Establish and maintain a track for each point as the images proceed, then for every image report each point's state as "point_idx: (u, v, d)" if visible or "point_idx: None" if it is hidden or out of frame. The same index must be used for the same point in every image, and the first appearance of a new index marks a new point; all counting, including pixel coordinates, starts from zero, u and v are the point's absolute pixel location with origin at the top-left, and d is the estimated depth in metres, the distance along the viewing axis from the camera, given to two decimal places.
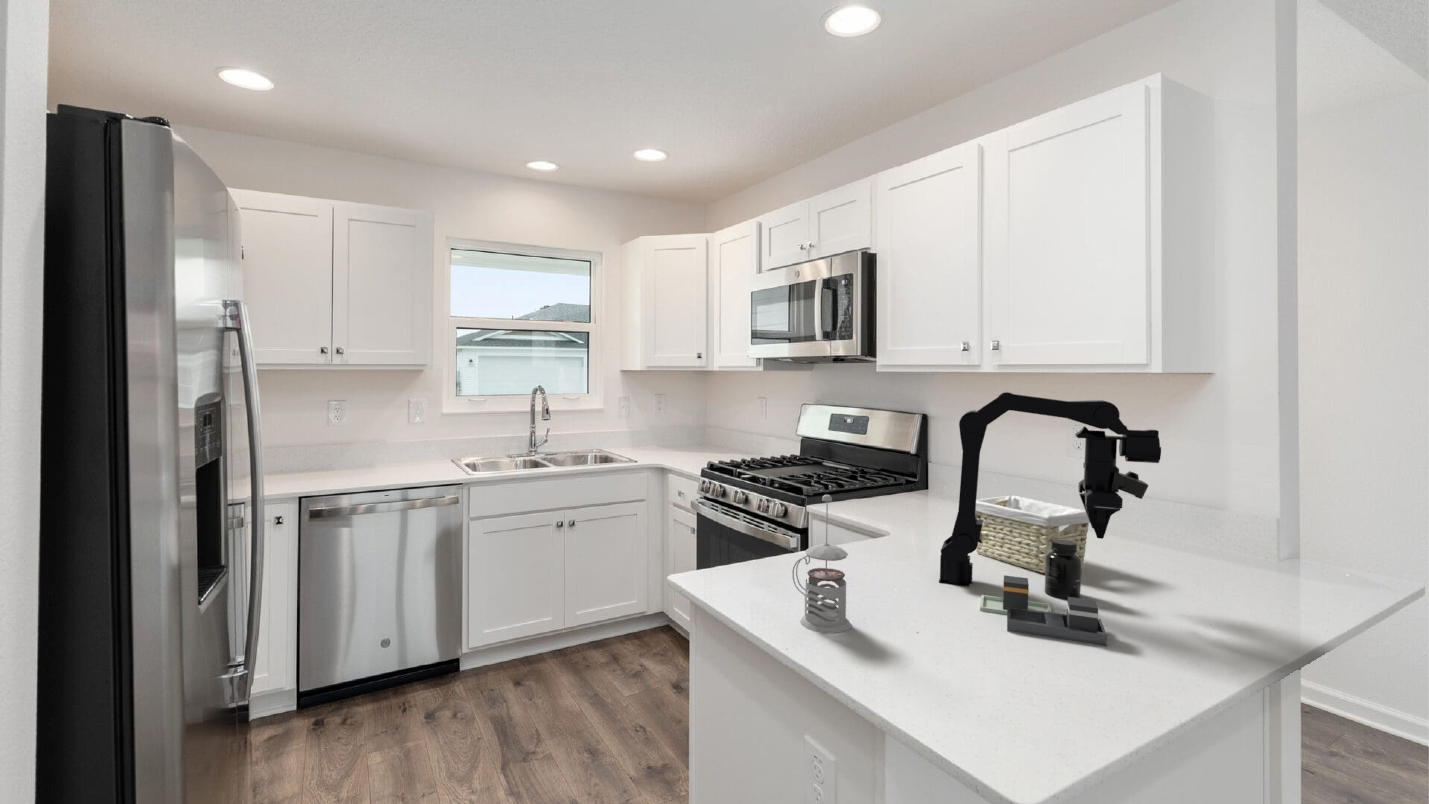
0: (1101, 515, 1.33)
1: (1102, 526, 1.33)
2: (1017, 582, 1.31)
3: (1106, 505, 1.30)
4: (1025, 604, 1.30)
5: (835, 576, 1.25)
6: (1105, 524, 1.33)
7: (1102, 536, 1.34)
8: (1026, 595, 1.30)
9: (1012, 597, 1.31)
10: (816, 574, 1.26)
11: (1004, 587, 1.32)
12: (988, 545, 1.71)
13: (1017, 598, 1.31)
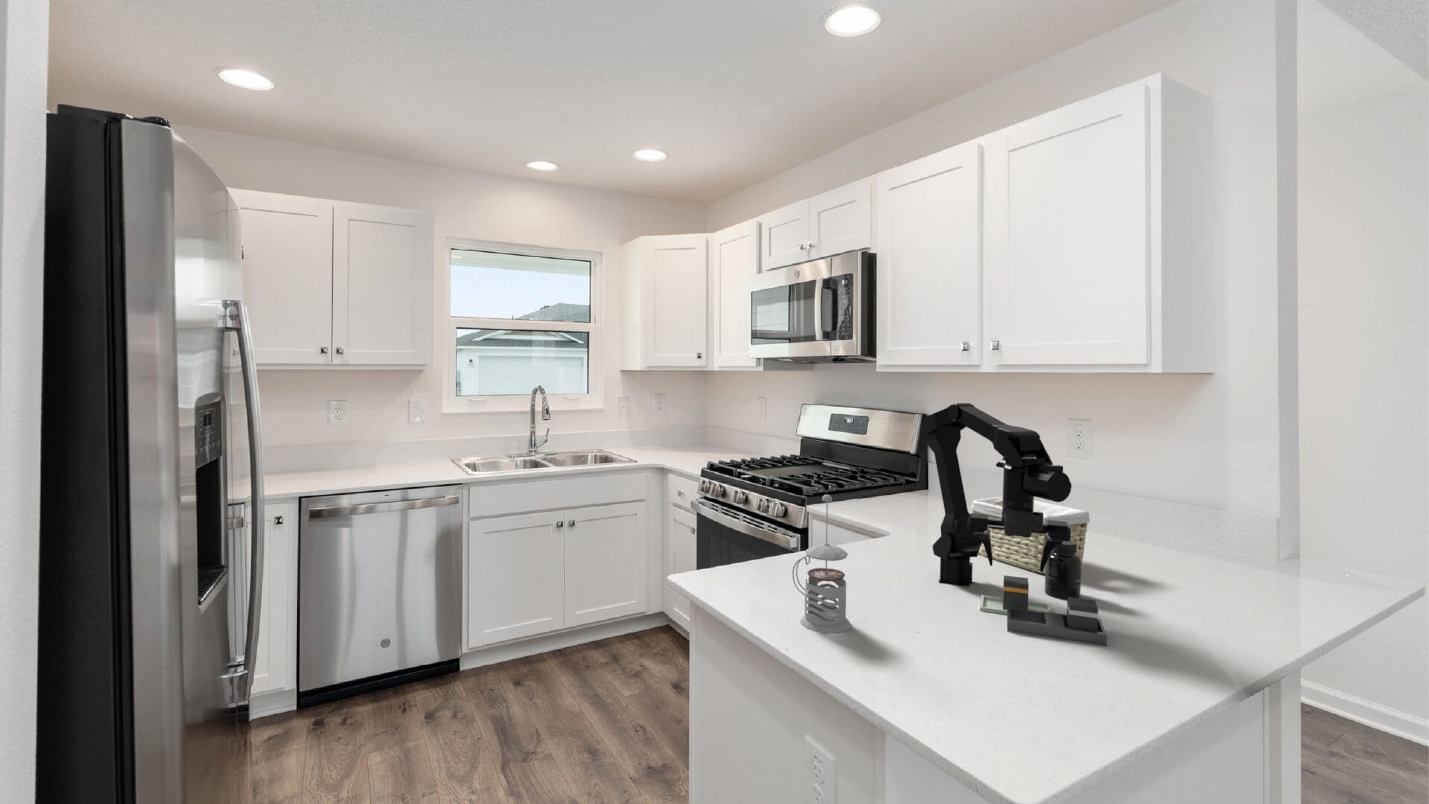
0: None
1: None
2: (1017, 582, 1.31)
3: None
4: (1025, 604, 1.30)
5: (835, 576, 1.25)
6: None
7: (989, 563, 1.34)
8: (1026, 595, 1.30)
9: (1012, 597, 1.31)
10: (816, 574, 1.26)
11: (1004, 587, 1.32)
12: None
13: (1017, 598, 1.31)
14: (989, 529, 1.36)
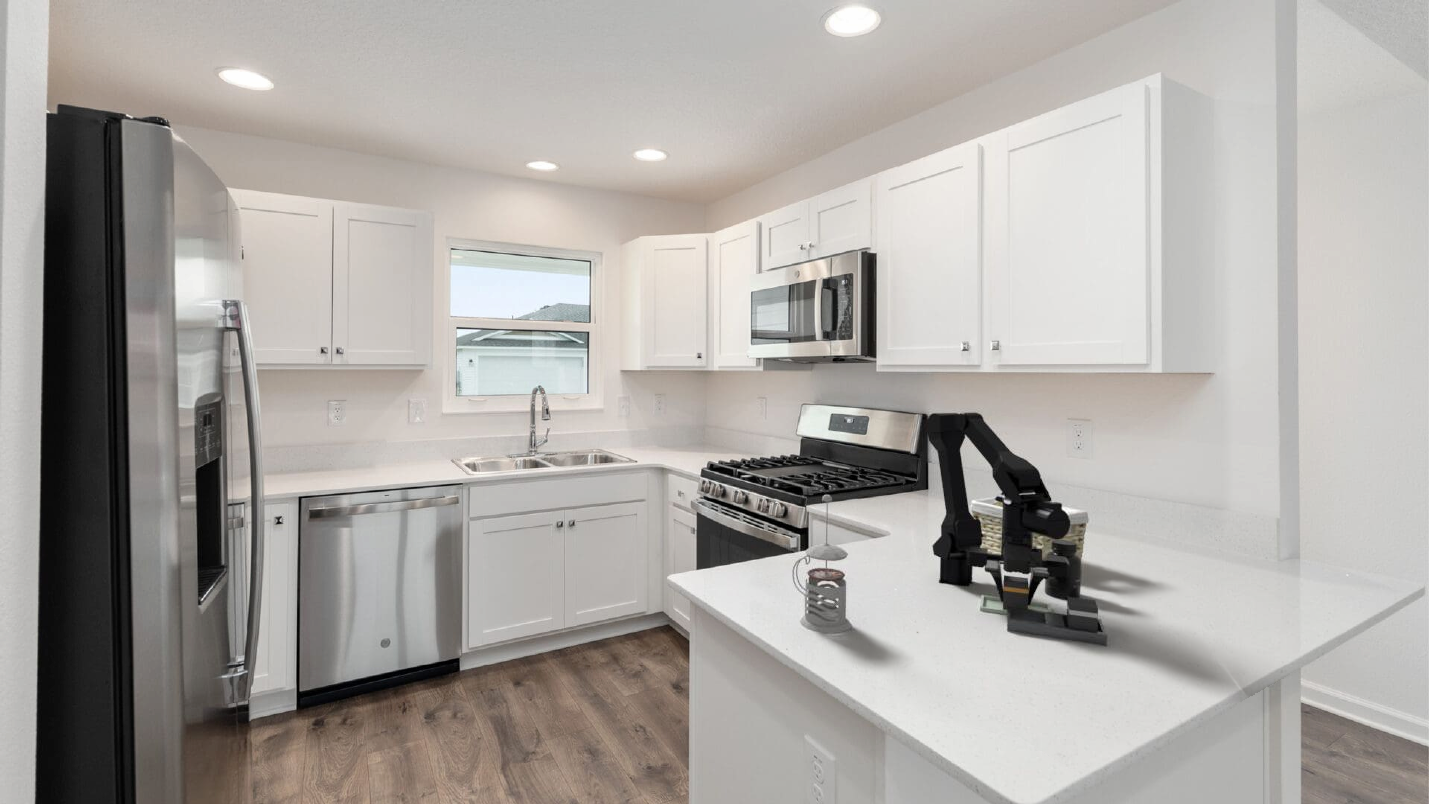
0: None
1: None
2: (1017, 582, 1.31)
3: None
4: (1025, 604, 1.30)
5: (835, 576, 1.25)
6: (997, 586, 1.34)
7: None
8: (1026, 595, 1.30)
9: (1012, 597, 1.31)
10: (816, 574, 1.26)
11: (1004, 587, 1.32)
12: (986, 545, 1.71)
13: (1017, 598, 1.31)
14: None
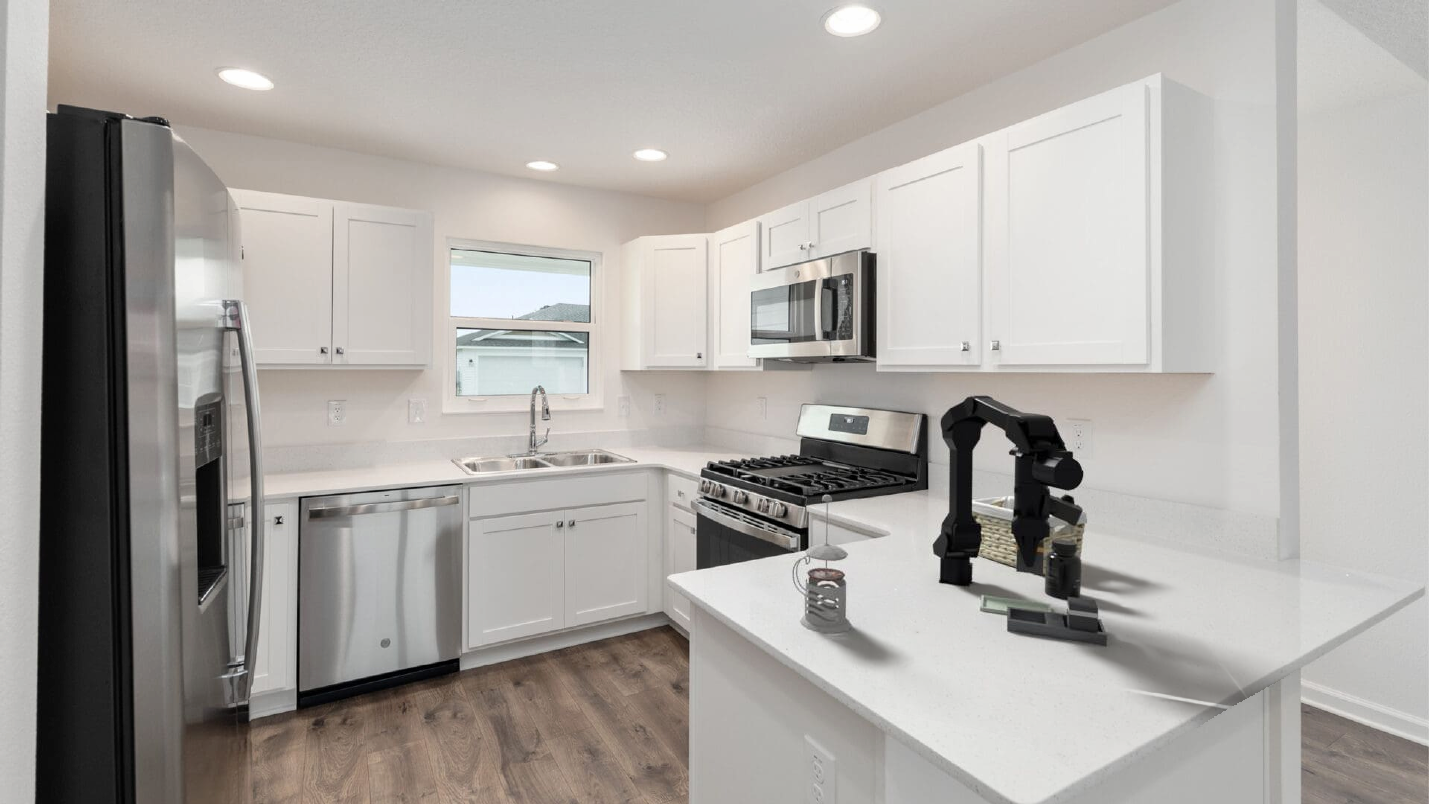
0: (1029, 541, 1.20)
1: (1031, 554, 1.21)
2: None
3: (1032, 533, 1.15)
4: None
5: (835, 576, 1.25)
6: (1033, 552, 1.20)
7: (1031, 565, 1.21)
8: None
9: None
10: (816, 574, 1.26)
11: (1043, 548, 1.21)
12: (984, 545, 1.71)
13: None
14: None
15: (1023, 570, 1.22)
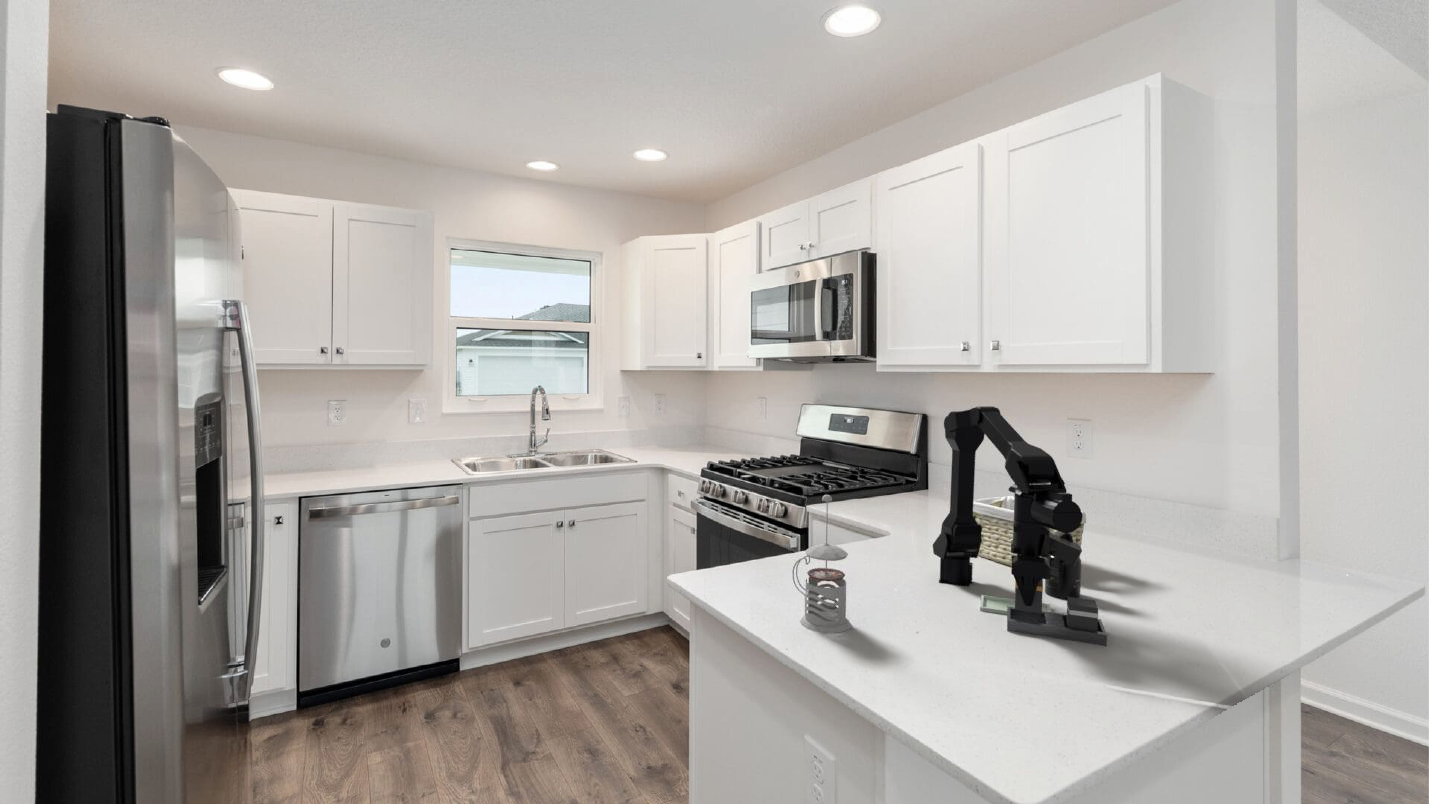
0: (1028, 581, 1.20)
1: (1030, 593, 1.21)
2: None
3: (1032, 575, 1.15)
4: None
5: (835, 576, 1.25)
6: (1033, 591, 1.20)
7: (1030, 603, 1.21)
8: None
9: None
10: (816, 574, 1.26)
11: (1042, 587, 1.21)
12: (983, 545, 1.71)
13: None
14: None
15: (1021, 608, 1.22)
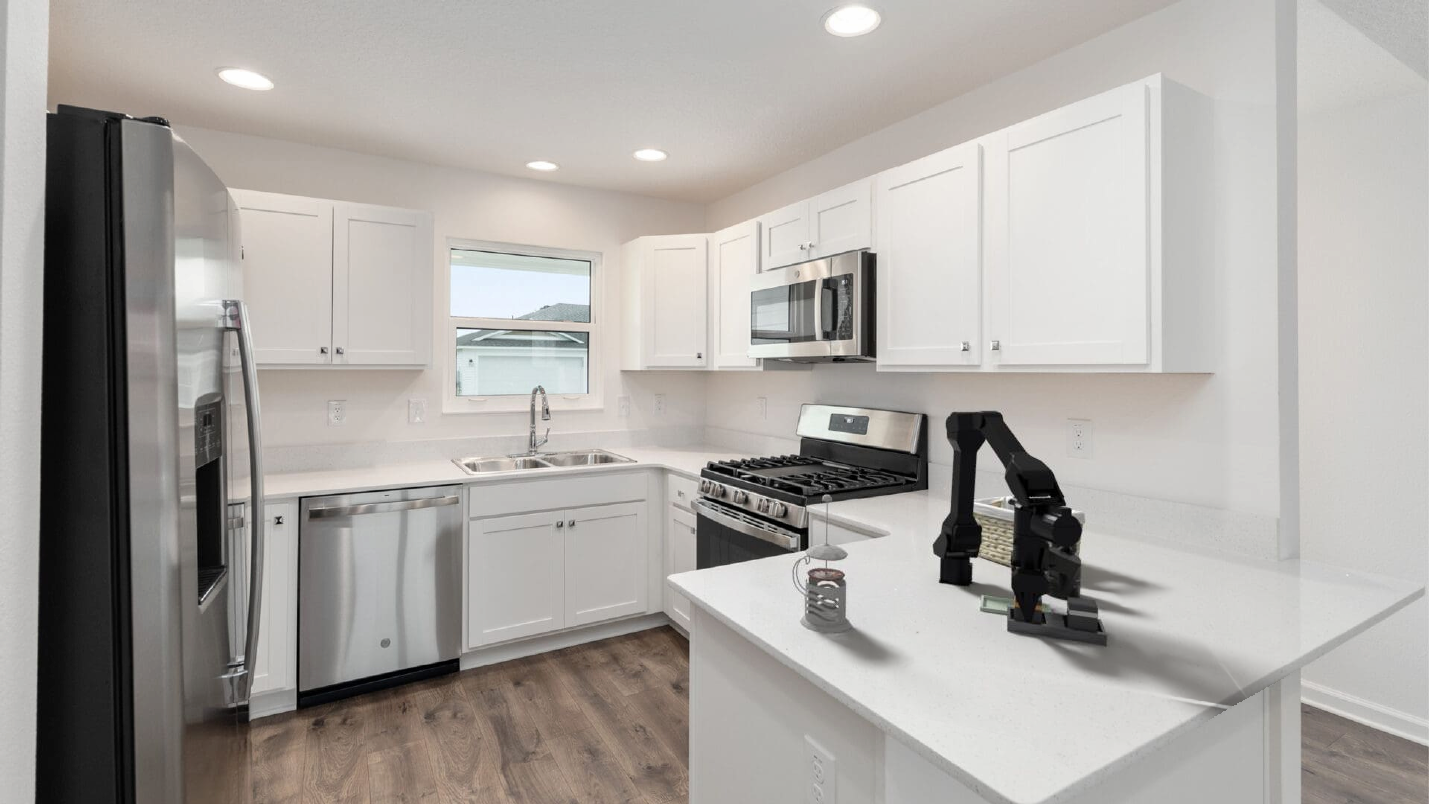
0: (1028, 597, 1.19)
1: (1030, 609, 1.19)
2: None
3: (1032, 589, 1.15)
4: None
5: (835, 576, 1.25)
6: (1033, 607, 1.19)
7: (1030, 620, 1.20)
8: None
9: None
10: (816, 574, 1.26)
11: None
12: (982, 546, 1.71)
13: None
14: None
15: None
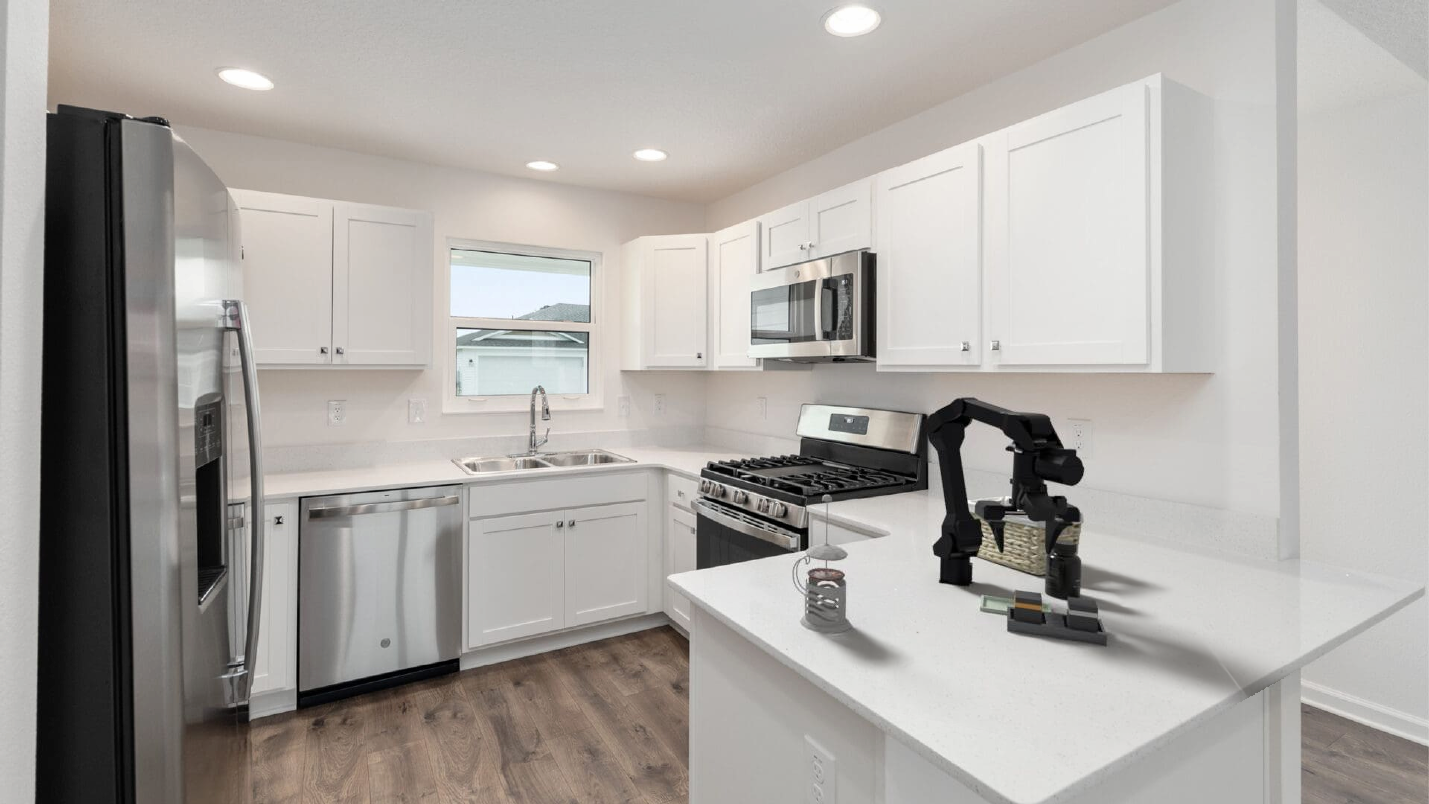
0: None
1: (998, 540, 1.31)
2: (1037, 596, 1.23)
3: (979, 514, 1.31)
4: None
5: (835, 576, 1.25)
6: None
7: (1000, 550, 1.31)
8: None
9: None
10: (816, 574, 1.26)
11: None
12: (981, 546, 1.70)
13: None
14: None
15: None
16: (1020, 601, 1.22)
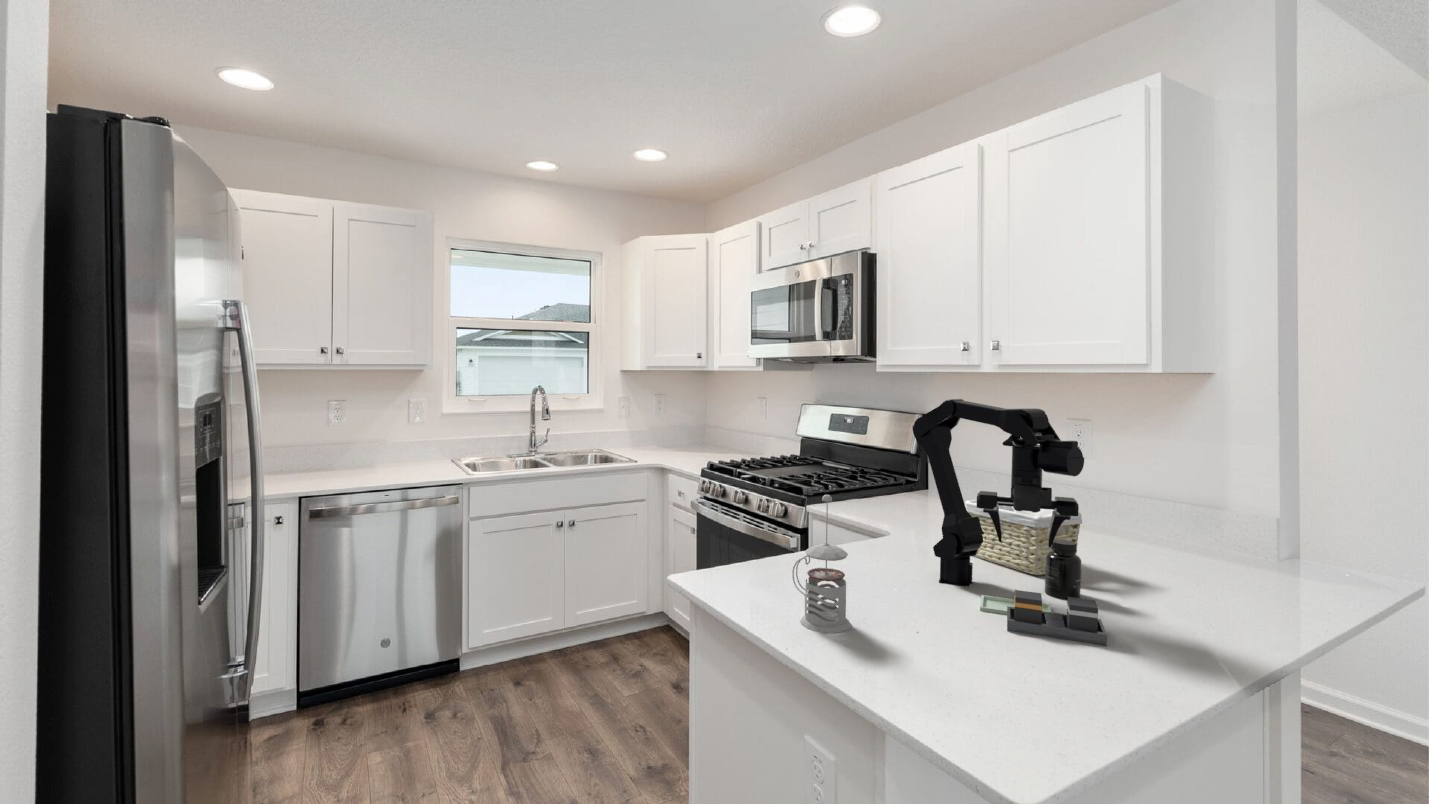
0: None
1: None
2: (1037, 596, 1.23)
3: None
4: None
5: (835, 576, 1.25)
6: (995, 527, 1.37)
7: None
8: None
9: None
10: (816, 574, 1.26)
11: None
12: None
13: None
14: (998, 506, 1.39)
15: None
16: (1020, 601, 1.22)
